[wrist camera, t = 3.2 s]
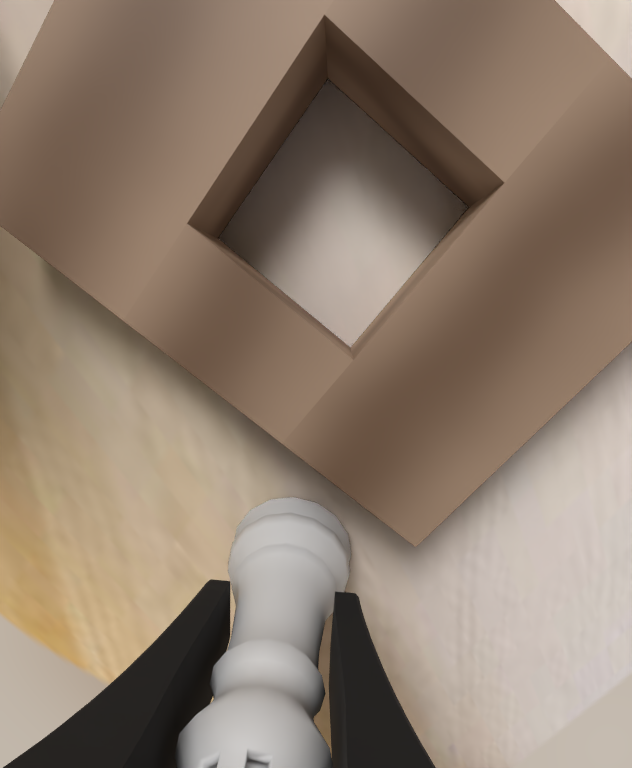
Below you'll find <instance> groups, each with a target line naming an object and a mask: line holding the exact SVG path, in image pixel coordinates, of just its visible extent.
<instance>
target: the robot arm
mask: <svg viewBox="0 0 632 768" xmlns="http://www.w3.org/2000/svg"><path fill="white" fill-rule="evenodd" d="M229 639H230V581H221V580H209V581H208V582H207V583H206V584H205V585H204V587H203V588H202V589H201V590H200V591H199V593H198V594H197V595H196V596H195V597H194V599H193V600H192V601H191V602H190V603H189V604H188V606H187V607H186V608H185V609H184V610H183V611H182V612H181V614H180V615H179V616H178V617H177V618H176V619H175V620H174V621H173V622H172V623H171V624H170V626H169V627H168V628H167V629H166V630H165V631H164V632H163V633H162V634H161V635H160V636H159V637H158V638H157V640H156V641H155V642H154V643H153V644H152V645H151V646H150V647H149V648H148V649H147V650H146V651H145V652H144V653H143V654H142V655H140V656H139V657H138V658H137V659H136V660H135V661H134V662H133V663H132V664H131V665H130V666H129V667H128V668H127V669H126V670H125V671H124V672H123V673H122V674H121V675H120V676H119V677H118V678H116V679H115V680H114V681H113V682H112V683H111V684H110V685H109V686H108V687H106V688H105V689H104V690H103V691H102V692H101V693H100V694H98V695H97V696H96V697H95V698H94V699H93V700H91V701H90V702H89V703H88V704H87V705H85V706H84V707H83V708H82V709H81V710H79V711H78V712H77V713H75V714H74V715H73V716H72V717H71V718H69V719H68V720H67V721H66V722H65V723H63V724H62V725H61V726H60V727H58V728H57V729H56V730H54V731H53V732H52V733H50V734H49V735H48V736H47V737H45V738H44V739H42V740H41V741H40V742H38V743H37V744H35V745H34V746H33V747H31V748H30V749H28V750H27V751H26V752H24V753H23V754H22V755H20V756H19V757H17V758H16V759H14V760H13V761H12V762H10V763H9V764H8V765H6V766H5V767H3V768H177V764H176V760H175V752H176V747H177V742H178V737H179V734H180V732H181V731H182V730H183V729H184V728H185V727H186V726H187V724H188V723H189V722H190V721H191V720H192V719H193V718H194V717H195V715H197V714H198V713H199V712H200V711H202V710H203V709H204V708H205V707H207V706H208V705H209V704H210V702H211V699H212V696H213V693H212V690H211V686H210V680H211V676H212V671H213V667H214V665H215V664H216V663H217V662H218V660H219V659H220V658H221V657H222V656H223V655H224V653H225V652H226V651H227V647H228V643H229ZM329 700H330V724H331V746H332V763H333V768H435V766H434V764H433V763H432V761H431V759H430V757H429V756H428V754H427V752H426V751H425V749H424V747H423V745H422V744H421V742H420V740H419V739H418V737H417V735H416V733H415V731H414V729H413V728H412V726H411V724H410V722H409V720H408V718H407V717H406V715H405V713H404V711H403V709H402V707H401V705H400V703H399V701H398V699H397V697H396V695H395V693H394V691H393V688H392V686H391V684H390V682H389V680H388V678H387V676H386V673H385V671H384V669H383V666H382V664H381V662H380V659H379V657H378V654H377V652H376V650H375V647H374V645H373V642H372V639H371V637H370V634H369V631H368V628H367V625H366V622H365V619H364V616H363V613H362V609H361V605H360V601H359V597H358V596H357V595H356V594H355V593H346V592H335V597H334V610H333V622H332V634H331V647H330V673H329Z"/></svg>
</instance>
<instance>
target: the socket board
mask: <svg viewBox="0 0 632 768" xmlns="http://www.w3.org/2000/svg"><path fill="white" fill-rule="evenodd" d="M327 78H328V79H329V80H330V81H332V82H333V83H334V84H335V85H336V86H337V87H338V88H339V89H340V90H341V91H342V92H344V93H345V94H346V95H347V96H348V97H349V98H350V99H351V100H352V101H353V102H355V103H356V104H357V105H358V106H359V107H360V108H361V109H362V110H363V111H364V112H366V113H367V114H368V115H369V116H370V117H371V118H372V119H373V120H374V121H375V122H376V123H378V124H379V125H380V126H381V127H382V128H383V129H384V130H385V131H386V132H387V133H389V134H390V135H391V136H392V137H393V138H394V139H395V140H396V141H397V142H398V143H400V144H401V145H402V146H403V147H404V148H405V149H406V150H407V151H408V152H409V153H410V154H412V155H413V156H414V157H415V158H416V159H417V160H418V161H419V162H420V163H421V164H423V165H424V166H425V167H426V168H427V169H428V170H429V171H430V172H431V173H432V174H434V175H435V176H436V177H437V178H438V179H439V180H440V181H441V182H442V183H443V184H444V185H446V186H447V187H448V188H449V189H450V190H451V191H452V192H453V193H454V194H455V195H457V196H458V197H459V198H460V199H461V200H462V201H463V202H464V203H465V204H466V205H467V206H469V208H468V209H467V210H466V211H465V213H464V214H463V215H462V216H461V217H460V219H459V220H458V221H457V222H456V223H455V225H454V226H453V227H452V228H451V229H450V230H449V232H448V233H447V234H446V235H445V236H444V238H443V239H442V240H441V241H440V242H439V244H438V245H437V246H436V247H435V248H434V249H433V251H432V252H431V253H430V254H429V255H428V257H427V258H426V259H425V260H424V261H423V262H422V264H421V265H420V266H419V267H418V268H417V270H416V271H415V272H414V273H413V274H412V276H411V277H410V278H409V279H408V280H407V281H406V283H405V284H404V285H403V286H402V287H401V289H400V290H399V291H398V292H397V293H396V294H395V296H394V297H393V298H392V299H391V300H390V302H389V303H388V304H387V305H386V306H385V308H384V309H383V310H382V311H381V312H380V313H379V315H378V316H377V317H376V318H375V319H374V321H373V322H372V323H371V324H370V325H369V327H368V328H367V329H366V330H365V331H364V332H363V334H362V335H361V336H360V337H359V338H358V340H357V341H356V342H355V343H354V344H353V345H352V347H351V348H350V347H349V346H348V345H346V344H345V343H344V342H343V341H342V340H340V339H339V338H338V337H337V336H336V335H334V334H333V333H332V332H331V331H330V330H328V329H327V328H326V327H325V326H323V325H322V324H321V323H320V322H319V321H317V320H316V319H315V318H314V317H313V316H311V315H310V314H309V313H308V312H307V311H305V310H304V309H303V308H302V307H300V306H299V305H298V304H297V303H296V302H294V301H293V300H292V299H291V298H290V297H288V296H287V295H286V294H285V293H284V292H282V291H281V290H280V289H279V288H277V287H276V286H275V285H274V284H273V283H271V282H270V281H269V280H268V279H267V278H265V277H264V276H263V275H262V274H260V273H259V272H258V271H257V270H256V269H254V268H253V267H252V266H251V265H250V264H248V263H247V262H246V261H245V260H244V259H242V258H241V257H240V256H239V255H237V254H236V253H235V252H234V251H233V250H231V249H230V248H229V247H228V246H227V245H225V244H224V243H223V242H222V241H221V240H219V239H218V237H219V236H220V234H221V233H222V231H223V230H224V229H225V227H226V226H227V224H228V223H229V221H230V220H231V218H232V217H233V215H234V214H235V212H236V211H237V210H238V208H239V207H240V205H241V204H242V202H243V201H244V199H245V198H246V196H247V195H248V194H249V192H250V191H251V189H252V188H253V186H254V185H255V183H256V182H257V180H258V179H259V178H260V176H261V175H262V173H263V172H264V170H265V169H266V167H267V166H268V164H269V163H270V161H271V160H272V159H273V157H274V156H275V154H276V153H277V151H278V150H279V148H280V147H281V145H282V144H283V143H284V141H285V140H286V138H287V137H288V135H289V134H290V132H291V131H292V129H293V128H294V126H295V125H296V124H297V122H298V121H299V119H300V118H301V116H302V115H303V113H304V112H305V110H306V109H307V108H308V106H309V105H310V103H311V102H312V100H313V99H314V97H315V96H316V94H317V93H318V92H319V90H320V89H321V87H322V86H323V84H324V83H325V81H326V80H327ZM0 226H1V227H3V228H4V229H5V230H6V231H8V232H9V233H10V234H12V235H13V236H14V237H15V238H17V239H18V240H19V241H21V242H22V243H23V244H25V245H26V246H27V247H28V248H30V249H31V250H32V251H34V252H35V253H36V254H37V255H39V256H40V257H41V258H43V259H44V260H45V261H46V262H48V263H49V264H50V265H52V266H53V267H54V268H56V269H57V270H58V271H59V272H61V273H62V274H63V275H65V276H66V277H67V278H68V279H70V280H71V281H72V282H74V283H75V284H76V285H77V286H79V287H80V288H81V289H83V290H84V291H85V292H87V293H88V294H89V295H90V296H92V297H93V298H94V299H96V300H97V301H98V302H99V303H101V304H102V305H103V306H105V307H106V308H107V309H108V310H110V311H111V312H112V313H114V314H115V315H116V316H118V317H119V318H120V319H121V320H123V321H124V322H125V323H127V324H128V325H129V326H130V327H132V328H133V329H134V330H136V331H137V332H138V333H139V334H141V335H142V336H143V337H145V338H146V339H147V340H149V341H150V342H151V343H152V344H154V345H155V346H156V347H158V348H159V349H160V350H161V351H163V352H164V353H165V354H167V355H168V356H169V357H170V358H172V359H173V360H174V361H176V362H177V363H178V364H180V365H181V366H182V367H183V368H185V369H186V370H187V371H189V372H190V373H191V374H192V375H194V376H195V377H196V378H198V379H199V380H200V381H201V382H203V383H204V384H205V385H207V386H208V387H209V388H211V389H212V390H213V391H214V392H216V393H217V394H218V395H220V396H221V397H222V398H223V399H225V400H226V401H227V402H229V403H230V404H231V405H232V406H234V407H235V408H236V409H238V410H239V411H240V412H242V413H243V414H244V415H245V416H247V417H248V418H249V419H251V420H252V421H253V422H254V423H256V424H257V425H258V426H260V427H261V428H262V429H263V430H265V431H266V432H267V433H269V434H270V435H271V436H273V437H274V438H275V439H276V440H278V441H279V442H280V443H282V444H283V445H284V446H285V447H287V448H288V449H289V450H291V451H292V452H293V453H294V454H296V455H297V456H298V457H300V458H301V459H302V460H304V461H305V462H306V463H307V464H309V465H310V466H311V467H313V468H314V469H315V470H316V471H318V472H319V473H320V474H322V475H323V476H324V477H325V478H327V479H328V480H329V481H331V482H332V483H333V484H335V485H336V486H337V487H338V488H340V489H341V490H342V491H344V492H345V493H346V494H347V495H349V496H350V497H351V498H353V499H354V500H355V501H356V502H358V503H359V504H360V505H362V506H363V507H364V508H366V509H367V510H368V511H369V512H371V513H372V514H373V515H375V516H376V517H377V518H378V519H380V520H381V521H382V522H384V523H385V524H386V525H387V526H389V527H390V528H391V529H393V530H394V531H395V532H397V533H398V534H399V535H400V536H402V537H403V538H404V539H406V540H407V541H408V542H409V543H411V544H412V545H413V546H415V547H416V546H417V545H419V544H420V543H421V542H422V541H423V540H424V539H425V538H426V537H427V536H428V535H429V534H430V533H431V532H432V531H433V530H434V529H435V528H436V527H437V526H438V525H440V524H441V523H442V522H443V521H444V520H445V519H446V518H447V517H448V516H449V515H450V514H451V513H452V512H453V511H454V510H455V509H456V508H457V507H458V506H459V505H461V504H462V503H463V502H464V501H465V500H466V499H467V498H468V497H469V496H470V495H471V494H472V493H473V492H474V491H475V490H476V489H477V488H478V487H479V486H480V485H482V484H483V483H484V482H485V481H486V480H487V479H488V478H489V477H490V476H491V475H492V474H493V473H494V472H495V471H496V470H497V469H498V468H499V467H500V466H502V465H503V464H504V463H505V462H506V461H507V460H508V459H509V458H510V457H511V456H512V455H513V454H514V453H515V452H516V451H517V450H518V449H519V448H520V447H521V446H523V445H524V444H525V443H526V442H527V441H528V440H529V439H530V438H531V437H532V436H533V435H534V434H535V433H536V432H537V431H538V430H539V429H540V428H541V427H542V426H544V425H545V424H546V423H547V422H548V421H549V420H550V419H551V418H552V417H553V416H554V415H555V414H556V413H557V412H558V411H559V410H560V409H561V408H562V407H564V406H565V405H566V404H567V403H568V402H569V401H570V400H571V399H572V398H573V397H574V396H575V395H576V394H577V393H578V392H579V391H580V390H581V389H582V388H583V387H585V386H586V385H587V384H588V383H589V382H590V381H591V380H592V379H593V378H594V377H595V376H596V375H597V374H598V373H599V372H600V371H601V370H602V369H603V368H604V367H606V366H607V365H608V364H609V363H610V362H611V361H612V360H613V359H614V358H615V357H616V356H617V355H618V354H619V353H620V352H621V351H622V350H623V349H624V348H625V347H627V346H628V345H629V344H630V343H631V342H632V79H631V78H630V77H629V75H628V74H627V73H626V72H625V71H624V70H623V69H622V68H621V67H620V66H619V65H618V64H617V63H616V62H615V61H614V60H613V59H612V58H611V57H610V56H609V55H608V54H607V53H606V52H605V51H604V50H603V49H602V48H601V47H600V46H599V45H598V44H597V43H596V42H595V41H594V40H593V39H592V38H591V37H590V36H589V35H588V34H587V33H586V32H585V31H584V30H583V29H582V28H581V27H580V26H579V25H578V24H577V23H576V22H575V21H574V19H573V18H572V17H571V16H570V15H569V14H568V13H567V12H566V11H565V10H564V9H563V8H562V7H561V6H560V5H559V4H558V3H557V2H556V1H555V0H54V2H53V4H52V6H51V8H50V10H49V12H48V14H47V16H46V18H45V20H44V22H43V24H42V26H41V29H40V31H39V33H38V35H37V37H36V39H35V41H34V43H33V45H32V47H31V49H30V51H29V53H28V55H27V57H26V59H25V61H24V63H23V65H22V67H21V69H20V71H19V73H18V75H17V77H16V79H15V81H14V84H13V86H12V88H11V90H10V92H9V94H8V96H7V98H6V100H5V102H4V104H3V106H2V108H1V110H0Z"/></svg>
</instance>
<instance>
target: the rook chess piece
mask: <svg viewBox="0 0 632 768" xmlns="http://www.w3.org/2000/svg"><path fill="white" fill-rule="evenodd" d="M350 558H351V549H350V543H349V536H348V533H347V532H346V530H345V529H344V527H343V526H342V524H341V523H340V521H339V520H338V518H337V517H336V516H335V515H334V514H332V513H331V512H329V511H328V510H326V509H325V508H324V507H322V506H321V505H319V504H318V503H316V502H312V501H307V500H303V499H299V498H295V497H289V498H280V499H272V500H268V501H266V502H265V503H263V504H261V505H259V506H257V507H255V508H253V509H252V510H250V511H249V512H248V514H247V515H246V516H245V517H244V519H243V520H242V521H241V523H240V524H239V525H238V526H237V530H236V535H235V539H234V541H233V543H232V547H231V552H230V557H229V561H228V573H229V577H230V581H231V585H232V591H233V595H234V599H235V603H236V611H235V617H234V623H233V629H232V636H231V640H230V643H229V647H228V650H227V651H226V652H225V653H224V655H223V656H222V657H221V658H220V659H219V660H218V662H217V663H216V664H215V665H214V667H213V671H212V676H211V680H210V686H211V690H212V693H213V697H214V700H213V702H212V703H211V704H209V705H208V706H207V707H205V708H204V709H203V710H202V711H200V712H199V713H198V714H197V715H195V717H194V718H193V719H192V720H191V721H190V722H189V723H188V724H187V726H186V727H185V728H184V729H183V730H182V731H181V732H180V734H179V737H178V742H177V747H176V752H175V760H176V764H177V768H333V763H332V758H331V753H330V748H329V747H328V745H327V743H326V742H325V740H324V738H323V737H322V735H321V733H320V731H319V730H318V728H317V726H316V725H315V723H314V720H313V718H314V716H315V715H316V714H317V713H318V712H319V711H320V709H321V706H322V702H323V699H324V696H325V689H324V684H323V679H322V675H321V674H320V672H319V671H318V660H319V650H320V645H321V640H322V635H323V630H324V625H325V620H326V619H327V618H328V617H329V616H330V615H331V614H332V613H333V610H334V597H335V592H344V591H345V587H346V584H347V581H348V578H349V574H350V566H349V561H350Z"/></svg>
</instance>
